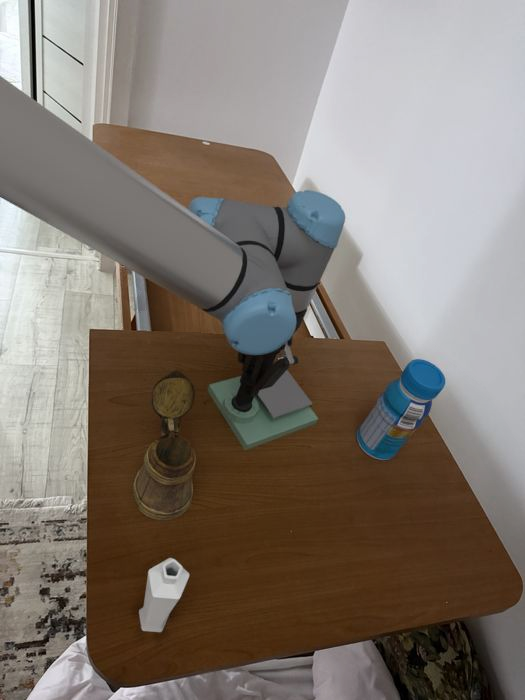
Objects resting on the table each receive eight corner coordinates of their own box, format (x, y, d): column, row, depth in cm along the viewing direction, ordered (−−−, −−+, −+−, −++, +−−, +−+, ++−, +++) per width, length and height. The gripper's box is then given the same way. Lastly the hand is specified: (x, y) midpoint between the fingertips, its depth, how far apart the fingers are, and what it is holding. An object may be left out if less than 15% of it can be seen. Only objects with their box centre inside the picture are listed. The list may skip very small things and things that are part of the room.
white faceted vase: (173, 598, 66) (195, 549, 56) (169, 635, 63) (192, 590, 53) (138, 595, 65) (153, 545, 55) (132, 632, 62) (148, 586, 52)
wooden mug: (185, 442, 84) (207, 369, 72) (195, 518, 75) (222, 450, 63) (130, 442, 81) (143, 367, 69) (133, 522, 72) (149, 451, 60)
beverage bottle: (346, 439, 94) (394, 367, 81) (368, 417, 100) (417, 347, 86) (382, 470, 91) (438, 401, 78) (403, 446, 97) (459, 378, 84)
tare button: (236, 417, 88) (239, 411, 86) (227, 403, 89) (230, 397, 88) (252, 412, 89) (254, 406, 88) (243, 399, 91) (245, 392, 90)
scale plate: (272, 419, 88) (273, 417, 87) (244, 378, 93) (245, 376, 93) (311, 406, 93) (313, 404, 92) (282, 367, 98) (283, 365, 97)
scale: (242, 451, 86) (247, 439, 83) (204, 391, 93) (208, 378, 90) (315, 424, 95) (322, 412, 92) (276, 371, 102) (281, 359, 99)
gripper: (329, 323, 71) (280, 423, 87) (280, 267, 78) (242, 369, 93) (287, 333, 67) (243, 436, 83) (239, 273, 74) (207, 379, 89)
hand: (243, 400), depth 88 cm, fingers closed
